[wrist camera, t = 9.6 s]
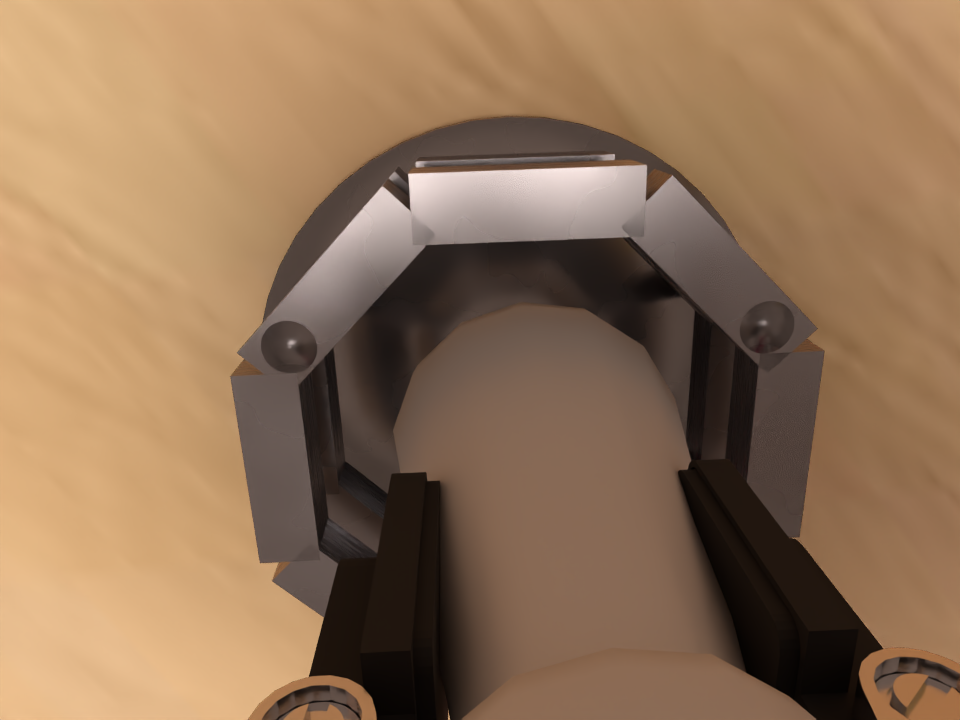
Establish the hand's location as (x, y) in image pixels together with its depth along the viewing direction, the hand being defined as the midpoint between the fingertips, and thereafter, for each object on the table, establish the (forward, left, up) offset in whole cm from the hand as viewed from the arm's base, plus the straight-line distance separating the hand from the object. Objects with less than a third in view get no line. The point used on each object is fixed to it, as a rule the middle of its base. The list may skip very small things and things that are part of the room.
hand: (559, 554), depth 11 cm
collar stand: (0, 0, -8) cm, 8 cm away
